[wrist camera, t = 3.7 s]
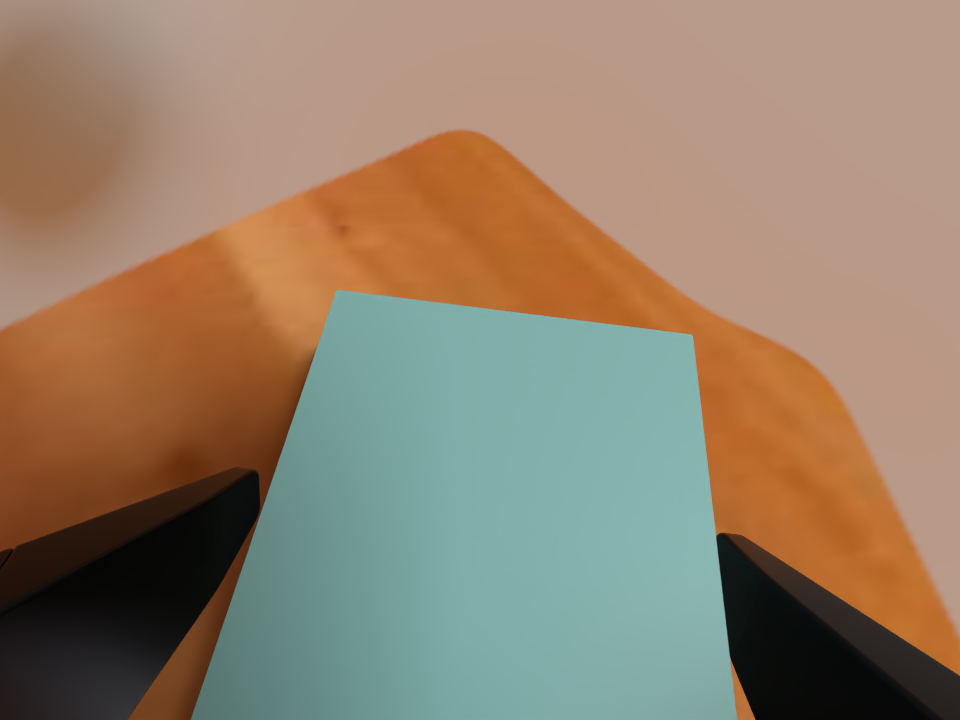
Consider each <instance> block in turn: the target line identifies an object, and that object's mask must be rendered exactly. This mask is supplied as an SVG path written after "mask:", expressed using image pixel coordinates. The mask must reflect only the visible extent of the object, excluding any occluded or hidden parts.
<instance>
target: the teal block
mask: <svg viewBox="0 0 960 720" xmlns="http://www.w3.org/2000/svg"><path fill="white" fill-rule="evenodd" d="M191 720H737V715H736V706H735V697H734V689H733V680H732V671H731V663H730V654H729V645H728V637H727V628H726V619H725V611H724V602H723V593H722V585H721V576H720V567H719V559H718V550H717V541H716V533H715V524H714V515H713V507H712V498H711V489H710V481H709V472H708V463H707V455H706V446H705V437H704V429H703V420H702V411H701V402H700V394H699V385H698V376H697V368H696V359H695V350H694V342H693V335H691V334H683V333H675V332H667V331H659V330H651V329H643V328H635V327H627V326H620V325H612V324H604V323H596V322H588V321H580V320H572V319H564V318H556V317H548V316H540V315H532V314H524V313H516V312H508V311H501V310H493V309H485V308H477V307H469V306H461V305H453V304H445V303H437V302H429V301H421V300H413V299H405V298H397V297H389V296H381V295H374V294H366V293H358V292H350V291H342V290H337V291H336V294H335V296H334V299H333V302H332V305H331V308H330V311H329V314H328V317H327V320H326V323H325V326H324V329H323V332H322V335H321V338H320V341H319V344H318V347H317V349H316V352H315V355H314V358H313V361H312V364H311V367H310V370H309V373H308V376H307V379H306V382H305V385H304V388H303V391H302V394H301V397H300V400H299V402H298V405H297V408H296V411H295V414H294V417H293V420H292V423H291V426H290V429H289V432H288V435H287V438H286V441H285V444H284V447H283V450H282V453H281V455H280V458H279V461H278V464H277V467H276V470H275V473H274V476H273V479H272V482H271V485H270V488H269V491H268V494H267V497H266V500H265V503H264V506H263V508H262V511H261V514H260V517H259V520H258V523H257V526H256V529H255V532H254V535H253V538H252V541H251V544H250V547H249V550H248V553H247V556H246V559H245V561H244V564H243V567H242V570H241V573H240V576H239V579H238V582H237V585H236V588H235V591H234V594H233V597H232V600H231V603H230V606H229V609H228V612H227V614H226V617H225V620H224V623H223V626H222V629H221V632H220V635H219V638H218V641H217V644H216V647H215V650H214V653H213V656H212V659H211V662H210V665H209V667H208V670H207V673H206V676H205V679H204V682H203V685H202V688H201V691H200V694H199V697H198V700H197V703H196V706H195V709H194V712H193V715H192V718H191Z"/></svg>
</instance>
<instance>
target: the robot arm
mask: <svg viewBox="0 0 960 720" xmlns="http://www.w3.org/2000/svg"><path fill="white" fill-rule="evenodd" d="M259 510H260V489H259V475H258V472H257V471H256V470H253V469H246V468H239V467H236V468H232V469H229V470H226V471H224V472H221V473H218V474H215V475H212V476H210V477H207V478H204V479H201V480H199V481H196V482H193V483H190V484H187V485H185V486H182V487H179V488H176V489H174V490H171V491H168V492H165V493H162V494H160V495H157V496H154V497H151V498H149V499H146V500H143V501H140V502H137V503H135V504H132V505H129V506H126V507H124V508H121V509H118V510H115V511H112V512H110V513H107V514H104V515H101V516H99V517H96V518H93V519H90V520H87V521H85V522H82V523H79V524H76V525H74V526H71V527H68V528H65V529H62V530H60V531H57V532H54V533H51V534H49V535H46V536H43V537H40V538H37V539H35V540H32V541H29V542H26V543H24V544H21V545H18V546H16V547H15V549H14V550H13V549H11V548H10V549H6V550H4V551H1V552H0V720H127V719H128V718H129V716H130V715H131V713H132V712H133V710H134V709H135V708H136V706H137V705H138V703H139V702H140V700H141V699H142V697H143V696H144V695H145V693H146V692H147V690H148V689H149V687H150V686H151V685H152V683H153V682H154V680H155V679H156V677H157V676H158V674H159V673H160V672H161V670H162V669H163V667H164V666H165V664H166V663H167V661H168V660H169V659H170V657H171V656H172V654H173V653H174V651H175V650H176V648H177V647H178V646H179V644H180V643H181V641H182V640H183V638H184V637H185V635H186V634H187V633H188V631H189V630H190V628H191V627H192V625H193V624H194V622H195V621H196V620H197V618H198V617H199V615H200V614H201V612H202V611H203V609H204V608H205V607H206V605H207V604H208V602H209V601H210V599H211V598H212V596H213V595H214V593H215V592H216V590H217V589H218V587H219V585H220V584H221V582H222V580H223V579H224V577H225V575H226V573H227V571H228V570H229V568H230V566H231V564H232V562H233V561H234V559H235V557H236V555H237V553H238V552H239V550H240V548H241V546H242V544H243V543H244V541H245V539H246V537H247V535H248V534H249V532H250V530H251V528H252V526H253V524H254V523H255V521H256V519H257V517H258V514H259ZM716 541H717V550H718V559H719V567H720V576H721V585H722V593H723V602H724V611H725V619H726V628H727V637H728V645H729V654H730V658H731V661H732V663H733V666H734V668H735V671H736V674H737V676H738V679H739V681H740V683H741V686H742V688H743V691H744V693H745V695H746V698H747V700H748V703H749V705H750V707H751V710H752V712H753V715H754V717H755V719H756V720H960V676H959V675H958V674H956V673H955V672H953V671H952V670H950V669H948V668H947V667H945V666H944V665H942V664H941V663H939V662H938V661H936V660H934V659H933V658H931V657H930V656H928V655H927V654H925V653H924V652H922V651H921V650H919V649H917V648H916V647H914V646H913V645H911V644H910V643H908V642H907V641H905V640H904V639H902V638H900V637H899V636H897V635H896V634H894V633H893V632H891V631H890V630H888V629H886V628H885V627H883V626H882V625H880V624H879V623H877V622H876V621H874V620H873V619H871V618H869V617H868V616H866V615H865V614H863V613H862V612H860V611H859V610H857V609H855V608H854V607H852V606H851V605H849V604H848V603H846V602H845V601H843V600H842V599H840V598H838V597H837V596H835V595H834V594H832V593H831V592H829V591H828V590H826V589H825V588H823V587H821V586H820V585H818V584H817V583H815V582H814V581H812V580H811V579H809V578H807V577H806V576H804V575H803V574H801V573H800V572H798V571H797V570H795V569H794V568H792V567H790V566H789V565H787V564H786V563H784V562H783V561H781V560H780V559H778V558H776V557H775V556H773V555H772V554H770V553H769V552H767V551H766V550H764V549H763V548H761V547H759V546H758V545H756V544H755V543H753V542H752V541H750V540H749V539H747V538H746V537H744V536H741V535H737V534H729V533H720V534H718V535H717V536H716Z"/></svg>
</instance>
